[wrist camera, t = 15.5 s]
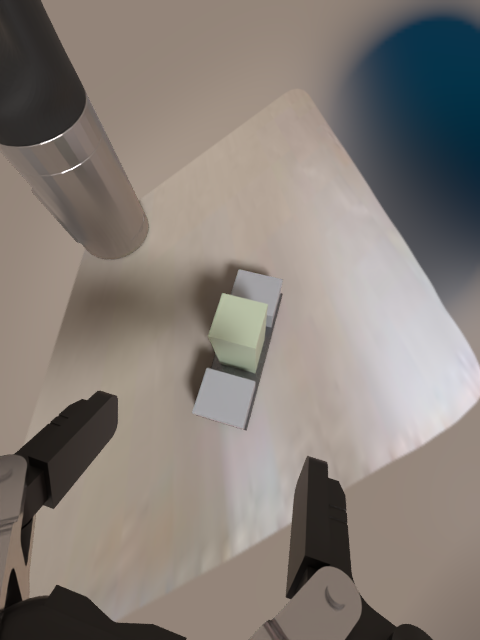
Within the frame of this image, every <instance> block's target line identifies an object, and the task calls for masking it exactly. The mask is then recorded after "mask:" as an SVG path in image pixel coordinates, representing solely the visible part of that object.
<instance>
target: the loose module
mask: <svg viewBox="0 0 480 640" xmlns="http://www.w3.org/2000/svg"><path fill="white" fill-rule="evenodd" d="M267 309H268V304H265V303H261V302H257V301H253V300H249V299H245V298H241V297H237V296H233V295H228V294H224V293H222V296H221V299H220V302H219V305H218V308H217V311H216V314H215V317H214V320H213V322H212V325H211V328H210V331H209V334H208V337H209V340H210V342H211V344H212V346H213V348H214V351H215V353H216V355H217V357H218V359H219V362H220V364H223V365H227V366H230V367H234V368H238V369H241V370H245V371H248V372H252V373H256V369H257V365H258V362H259V358H260V354H261V351H262V347H263V343H264V340H265V330H266V319H267Z"/></svg>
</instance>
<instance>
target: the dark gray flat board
mask: <svg viewBox="0 0 480 640" xmlns="http://www.w3.org/2000/svg"><path fill="white" fill-rule="evenodd" d="M281 299H282V294H281V293H280V297H279V301H278V304H277V308H276V312H275V316H274V319H273V323H272V327H267V326H266V330H265V340H264V343H263V347H262V351H261V354H260V358H259V362H258V365H257V369H256V373H252V372H248V371H245V370H241V369H238V368H234V367H230V366H227V365H223V364H220V362H219V359H218V357H217V355H216V354H215V357H214V360H213V364H212V367H211V369H213V370H217V371H220V372H224V373H227V374H231V375H235V376H238V377H242V378H245V379H249V380H252V381H255V390H254V394H253V398H252V402H251V405H250V409H249V413H248V417H247V420H246V424H245V428H244V429H243V430H246V431H247V427H248V423H249V420H250V416H251V412H252V408H253V405H254V401H255V397H256V393H257V389H258V386H259V382H260V378H261V374H262V370H263V367H264V363H265V359H266V355H267V352H268V348H269V344H270V340H271V336H272V333H273V329H274V325H275V321H276V317H277V314H278V310H279V306H280V302H281ZM197 416H198V415H197ZM200 417H201V416H200ZM203 418H204V417H203ZM210 420H211V419H210ZM213 421H214V420H213ZM220 423H221V422H220ZM223 424H224V423H223ZM230 426H231V425H230ZM233 427H234V426H233ZM236 428H237V427H236Z"/></svg>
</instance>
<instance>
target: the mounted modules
mask: <svg viewBox="0 0 480 640" xmlns="http://www.w3.org/2000/svg"><path fill="white" fill-rule="evenodd" d="M282 282H283V279H279V278H275V277H270V276H266V275H262V274H257V273H253V272H249V271H244V270H240V269H239V270H238V273H237V277H236V280H235V283H234V286H233V289H232V292H231V295H233V296H237V297H241V298H245V299H249V300H253V301H257V302H261V303H265V304H268V309H267V319H266V326H267V327H272V323H273V319H274V316H275V312H276V308H277V304H278V301H279V297H280V293H281V287H282ZM254 390H255V381H252V380H249V379H245V378H242V377H238V376H235V375H231V374H227V373H224V372H220V371H217V370H213V369H209V368H207V369H206V372H205V375H204V378H203V381H202V384H201V387H200V390H199V393H198V396H197V399H196V402H195V405H194V408H193V412H192V413H193V414H195V415H198V416H201V417H204V418H207V419H211V420H214V421H217V422H221V423H224V424H227V425H231V426H234V427H237V428H240V429H244V428H245V424H246V420H247V417H248V413H249V409H250V405H251V402H252V398H253V394H254Z"/></svg>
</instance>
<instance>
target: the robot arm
mask: <svg viewBox="0 0 480 640" xmlns="http://www.w3.org/2000/svg"><path fill="white" fill-rule="evenodd" d="M0 152H1V153H2V154H3V155H4V156H5V158H6V159H7V160H8V161H9V162H10V163H11V164H12V165H13V166H14V168H16V170H17V171H18V172H19V173H20V174H21V175H22V177H23V178H24V179H25V180H26V181H27V182H28V183H29V185H30V186H31V187H32V192H33V194H34V195H35V196H36V197H37V199H39V201H40V202H41V203H42V204H43V205H44V206H45V207H46V209H47V210H48V211H49V212H50V213H51V214H52V215H53V216H54V217H55V218H56V219H57V221H58V222H59V223H60V224H61V225H62V226H63V227H64V228H65V230H66V231H67V232H68V233H69V234H70V235H71V236H72V237H73V238H74V240H75V241H76V242H79V243H81V244H82V245H83V246H84V247H85V248H86V249H87V251H89V252H90V253H91V254H92V255H94V256H96V257H98V258H102V259H118V258H121V257H125V256H127V255H129V254H131V253H133V252H134V251H135V250H136V249H138V248H139V247H140V246H141V245H142V243H143V242H144V240H145V239H146V237H147V234H148V228H149V224H148V219H147V217H146V215H145V213H144V211H143V209H142V207H141V205H140V203H139V201H138V198H137V196H136V194H135V192H134V190H133V188H132V186H131V184H130V182H129V180H128V178H127V175H126V173H125V171H124V170H123V167H122V165H121V163H120V161H119V159H118V157H117V155H116V153H115V151H114V149H113V147H112V145H111V142H110V140H109V138H108V137H107V134H106V132H105V131H104V128H103V126H102V124H101V122H100V120H99V118H98V116H97V114H96V112H95V110H94V108H93V106H92V104H91V102H90V100H89V97H88V96H87V93H86V91H85V90H84V88H83V85H82V83H81V81H80V79H79V77H78V75H77V73H76V71H75V69H74V68H73V66H72V64H71V62H70V60H69V58H68V56H67V54H66V52H65V50H64V48H63V46H62V44H61V42H60V40H59V38H58V36H57V34H56V32H55V30H54V28H53V25H52V23H51V21H50V19H49V17H48V15H47V13H46V11H45V9H44V7H43V4H42V2H41V0H0ZM117 424H118V398H117V396H116V395H112V394H109V393H106V392H103V391H97V392H96V393H95V394H94V395H92V396H91V397H90V398H89V399H88V400H84V399H81V400H79V401H77V402H75V403H73V404H71V405H69V406H68V407H67V408H66V409H65V410H63V411H62V412H61V413H60V414H59V416H58V417H56V418H54V419H53V420H52V421H51V423H50V424H48V425H47V426H45V427H44V428H43V429H42V430H41V431H40V432H39V433H38V434H37V435H35V436H34V437H33V438H32V439H31V440H30V441H29V442H28V443H26V444H25V445H24V446H23V447H22V448H21V449H20V450H19V451H17V452H16V453H15V454H13V455H4V456H0V640H186V638H185V637H183V636H181V635H178V634H176V633H173V632H170V631H168V630H166V629H164V628H161V627H159V626H156V625H154V624H135V623H116V622H113V621H112V620H111V619H110V618H109V617H108V616H107V615H105V614H104V613H103V612H102V611H101V610H100V609H99V608H98V607H97V606H96V605H95V604H94V603H93V602H92V601H91V600H90V599H89V598H88V597H86V596H83V595H81V594H78V593H76V592H73V591H71V590H69V589H66V588H64V587H61V586H59V585H56V587H55V588H54V590H53V591H52V593H51V594H50V596H38V597H33V598H29V595H30V583H29V573H30V563H31V554H32V546H33V537H34V529H35V520H36V513H37V511H38V510H39V509H40V508H41V507H42V506H43V505H45V506H47V507H50V508H53V509H54V508H55V507H56V506H57V504H58V503H59V502H60V501H61V499H62V498H63V497H64V496H65V494H66V493H67V492H68V491H69V490H70V488H71V487H72V486H73V485H74V483H75V482H76V481H77V480H78V479H79V477H80V476H81V475H82V474H83V472H84V471H85V470H86V469H87V467H88V466H89V465H90V464H91V463H92V461H93V460H94V459H95V458H96V456H97V455H98V454H99V453H100V452H101V450H102V449H103V448H104V447H105V445H106V444H107V443H108V442H109V440H110V439H111V438H112V437H113V435H114V433H115V431H116V428H117ZM286 598H289V599H291V600H290V601H289V602H288V603H287V604H286V606H285V607H284V608H283V609H282V610H281V611H280V612H279V613H278V614H277V615H276V616H275V617H274V618H273V619H272V620H268V621H267V622H265V623H264V624H263V625H262V626H261V627H260V628H259V629H258V630H257V631H256V632H255V633H254V634H253V636H251V637H250V639H249V640H432V639H431V637H430V636H428V634H426V633H425V632H424V631H423V630H421V629H420V628H418V627H416V626H414V625H411V624H402V625H400V626H398V627H396V626H395V625H393V624H392V623H391V622H389V621H388V620H387V619H385V618H384V617H383V616H381V615H380V614H379V613H377V612H376V611H375V610H374V609H372V608H371V607H370V606H369V605H368V604H367V603H366V602H365V601H364V599H363V598H362V596H361V595H360V593H359V592H358V590H357V588H356V586H355V583H354V581H353V578H352V572H351V561H350V549H349V537H348V525H347V513H346V500H345V494H344V492H343V490H342V487H341V485H340V483H339V481H337V480H333V479H330V478H328V464H327V462H325V461H322V460H319V459H316V458H313V457H309V456H307V458H306V460H305V463H304V465H303V468H302V471H301V473H300V476H299V479H298V482H297V485H296V489H295V494H294V503H293V515H292V528H291V539H290V551H289V564H288V576H287V589H286Z"/></svg>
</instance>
